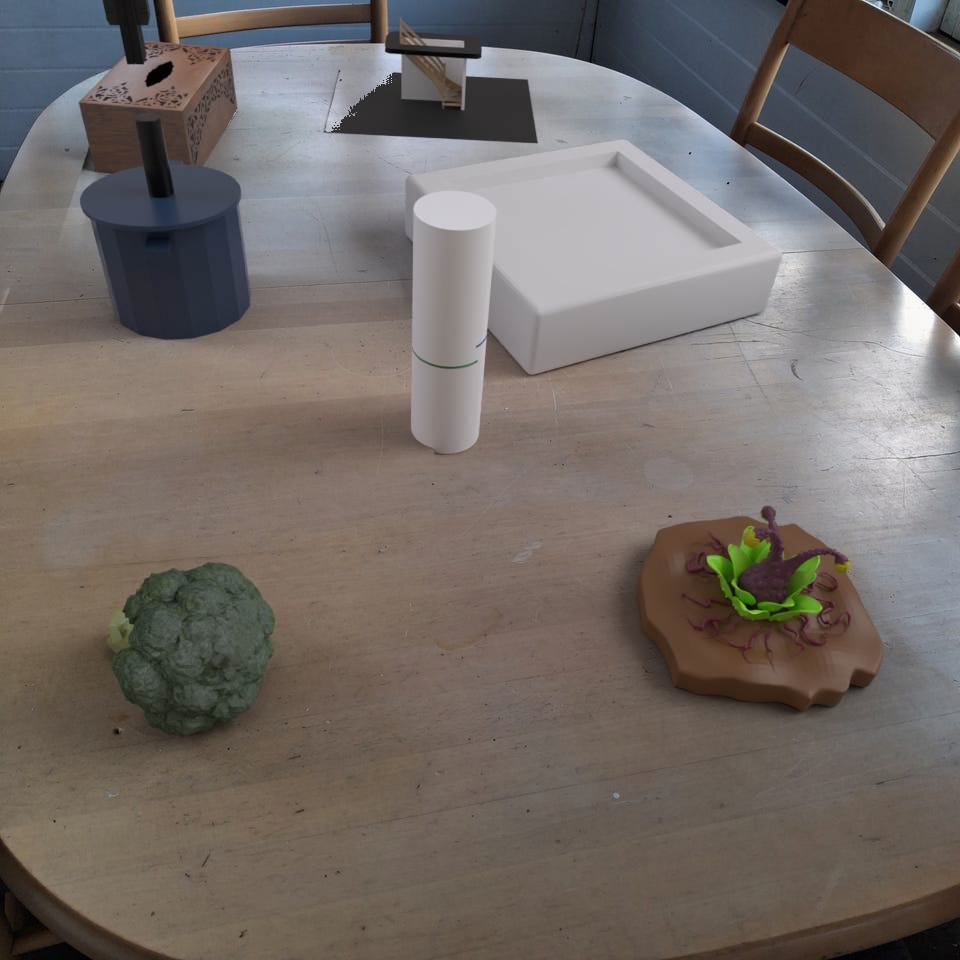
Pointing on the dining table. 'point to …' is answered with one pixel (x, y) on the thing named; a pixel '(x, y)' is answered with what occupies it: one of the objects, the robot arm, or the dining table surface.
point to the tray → (604, 252)
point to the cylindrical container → (450, 316)
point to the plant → (756, 612)
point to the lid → (159, 189)
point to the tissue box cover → (161, 104)
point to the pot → (177, 277)
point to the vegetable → (192, 647)
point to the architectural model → (442, 95)
